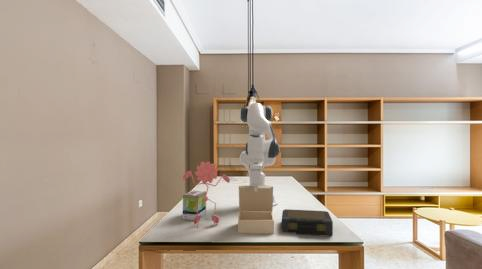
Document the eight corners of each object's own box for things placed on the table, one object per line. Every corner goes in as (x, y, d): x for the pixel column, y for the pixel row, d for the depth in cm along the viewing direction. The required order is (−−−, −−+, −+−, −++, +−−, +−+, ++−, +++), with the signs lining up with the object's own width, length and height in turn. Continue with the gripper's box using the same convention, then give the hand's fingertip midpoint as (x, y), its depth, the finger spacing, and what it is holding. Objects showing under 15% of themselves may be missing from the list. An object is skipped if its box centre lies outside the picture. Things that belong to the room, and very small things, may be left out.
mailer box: (272, 224, 156) (272, 212, 157) (274, 234, 140) (274, 220, 141) (239, 224, 157) (239, 211, 157) (238, 234, 141) (238, 220, 141)
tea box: (198, 220, 164) (198, 195, 164) (182, 219, 166) (182, 194, 166) (206, 213, 179) (206, 190, 179) (191, 213, 181) (191, 189, 181)
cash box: (328, 224, 158) (328, 210, 158) (333, 237, 138) (333, 221, 138) (283, 222, 162) (283, 208, 163) (281, 233, 142) (281, 218, 143)
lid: (272, 214, 155) (272, 211, 157) (273, 188, 149) (273, 185, 151) (239, 213, 156) (239, 210, 158) (238, 187, 149) (238, 185, 152)
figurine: (230, 227, 151) (230, 162, 152) (181, 228, 149) (181, 162, 150) (229, 219, 167) (229, 160, 168) (184, 221, 164) (185, 160, 166)
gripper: (250, 163, 159) (250, 187, 158) (249, 166, 138) (249, 194, 138) (261, 163, 158) (261, 187, 158) (262, 166, 138) (262, 194, 138)
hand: (255, 191), depth 148 cm, fingers closed
